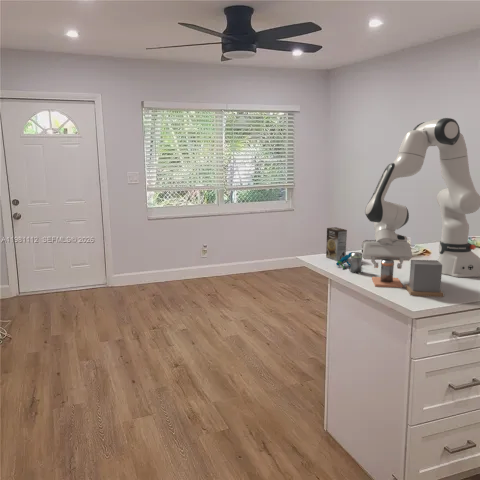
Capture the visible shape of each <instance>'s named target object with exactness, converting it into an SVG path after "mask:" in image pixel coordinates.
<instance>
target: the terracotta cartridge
mask: <svg viewBox="0 0 480 480" xmlns="http://www.w3.org/2000/svg"><path fill="white" fill-rule="evenodd" d="M394 266H395V260H390V259H383V260H380V277H381V280H380V281H382V282H386V283H391V282H393V278H394V268H395V267H394Z"/></svg>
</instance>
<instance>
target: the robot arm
mask: <svg viewBox="0 0 480 480" xmlns="http://www.w3.org/2000/svg"><path fill="white" fill-rule="evenodd" d="M429 147H437V148H438V150H439V163H440V173H441V178H442V179H443V181H444V183H445V185H446V187H445V188H442V189H441V190H440V191H439V192H438V193H437V195H436V202H437V204H438V207H439V210H440V217H441V238H440V241H439V245H438V253H439V255H438V259H437V261H439V262H440V263H441V264H442V274H443V275H446V276H452V277H456V278H475V277H477V278H478V277H479V278H480V257H479V256H478V255H477V254H476V253H474V252H473V251H472V250H476V249H477V246H476V245H475V244H471V243H470V242H469V234H470V233H469V232H470V231H469V230H470V224H469V223H468V220H467V216H466V215H469V214H474V213H476V212H477V211H479V209H480V194H479V193H478V192H477V189H476V187H475V185H474V182H473V180H472V176H471V174H470V166H469V156H468V148H467V144H466V140H465V138H464V135H463V134H462V133H461V130H460V125H459V124H458V122H457V121H456V120H455V119H454V118H451V117H443V118H436V119H435V118H434V119H431V120H428V121H425V122H421V123H419V124H417V125H416V126H415V127H414V128H413V130H410V131H407V133H406V134H405V135H404V136H403V138H402V141H401V144H400V146H399V148H398V153H397V155H396V158H395V159H394V161H393V162H391V163H389V164H387V166H386V167H385V168H384V171H383V173H382V174H381V176H380V178H379V180H378V183H377V185H376V187H375V189H374V190H373V191H374V192H373V194H372V196H371V197H370V199H369V201H368V203H367V205H366V206H365V210H364V214H365V216H366V218H367V220H369V222H372V223H373V228H374V231H375V232H374V239H371V240H370V239H365V240H363V241H362V242H361V248H362V259H364V260H367V261H368V260H371V261H370V262H371V263H372V264H373V265H374V267H373V268H374V269H378V268H379V262H376V261H377V260H378V261H382V260H383V259H390V260H394V261H399V262H398V263H397V265H396V266H397V269H399V270H400V269H402V268H403V264H404V261H405V262H406V261H408V262H409V261H411V260H412V257H413V251H412V247H411V244H410V243H409V241H408V237H407V236H405V235H402V234H398V233H396V230H399V229H400V228H402V227H404V226H405V225H406V224H407V223H408V221H409V217H410V215H409V214H410V213H409V209H408V208H407V207H406V205H402V204H400V203H394V202H390V201H387V200H385V197H386V195H387V193H388V191H389V188H390V187H391V184H392V182H394V181H395V180H397V179H399V178H408V177H412V176H415V175H416V174H418V173H419V172H420V171H421V169H422V167H423V165H424V162H425V158H426V154H427V150H428V148H429Z"/></svg>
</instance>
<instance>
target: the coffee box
mask: <svg viewBox="0 0 480 480" xmlns="http://www.w3.org/2000/svg"><path fill="white" fill-rule="evenodd" d="M347 233H348V230H347V229H345V228H340V227H336V226H335V227H327V228H326V246H325V248H326V252H325V254H326V255H325V256H326V258H328V259H330V260H334V261H336V262H337V261H338V260H341V258H343V257H345V255H347V238H348V237H347V235H348V234H347Z"/></svg>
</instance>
